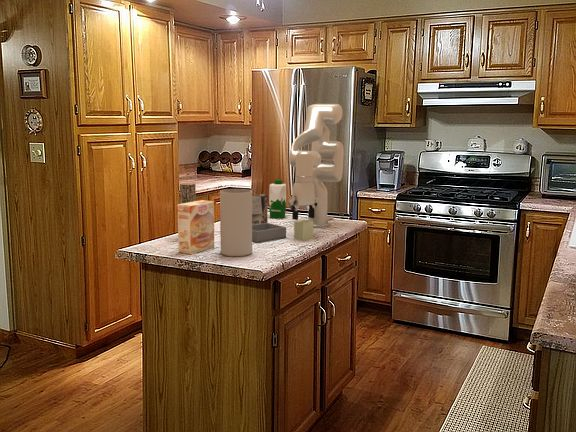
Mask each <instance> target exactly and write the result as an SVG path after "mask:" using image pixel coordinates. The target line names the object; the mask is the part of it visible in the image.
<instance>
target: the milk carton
mask: <svg viewBox="0 0 576 432" xmlns="http://www.w3.org/2000/svg"><path fill="white" fill-rule="evenodd" d="M268 191H269V194H268V197H269V198H268V199H269V200H268V202H269V205H268V207H269V208H268V209H269V219H275V220H276V219H279V220H280V219H282V220H284V218H285V217H286V213H287V212H286V211H287V184H286V183H283V180H282V179H275V180H274V183H270V184H269V189H268Z"/></svg>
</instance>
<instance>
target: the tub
mask: <svg viewBox="0 0 576 432" xmlns="http://www.w3.org/2000/svg"><path fill="white" fill-rule="evenodd" d="M286 238H287V227H286V226H282V225H279V224H275V223H274V224H273V223H270V222H268V223H262V224H256V225H252V243H256V244H259V243H266V242H271V241H277V240H282V239H283V240H284V239H286Z"/></svg>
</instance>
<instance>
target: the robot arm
mask: <svg viewBox="0 0 576 432" xmlns="http://www.w3.org/2000/svg"><path fill="white" fill-rule="evenodd" d="M342 118H343V107H342V105H341V104H339V103H314V104H313V103H312V104H311V105H308V107H307V108H306V119H305V124H304V129H303V132H301V133H299V135H297V136H296V138H295V139H294V140H293V142H292V143H291V146H290V151H289V157H288V161H289V165H290V166H291V167H293V168H295V182H294V183H293V186H292V187H293V188H292V193H291V194H292V195H291V198H290V199H289V200H287V203H288V205H289V208H290V210H291V211H292V214H291V215H292V216H291V217H292V220H293V221H299V210H298V209H299V208H300V207H307V206H308V207H307V209H308V210H307V211H308V212H307V220H308V221H313V228H328V227H330V226H331V222H330V221H333V220H334V219H335V218H334V215H333V216H329V215H328V195H329V194H328V189H327V187H326V185H325V184H324V183H339V182H340V181H342V179H343V171H344V157H345V156H344V155H345V154H344V153H345V152H344V150H345V149H344V145H343V143H342V142H341V141H338V140H330V136H331V135H330V133H331V132H330V129H329V127H328V126H327V125H336V124H338V123H339V122H340V121H341V119H342ZM310 144H311V150H300V149H301V148H302V147H305V146H307V145H310ZM324 161H333V162H324Z"/></svg>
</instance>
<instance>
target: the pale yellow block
mask: <svg viewBox="0 0 576 432" xmlns="http://www.w3.org/2000/svg"><path fill="white" fill-rule="evenodd" d="M293 223H294V224H293V239H294V240H297V241H301V242H305V241H310V240H314V227H313V221H308V219H300V220H299V219H298V220H293Z"/></svg>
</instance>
